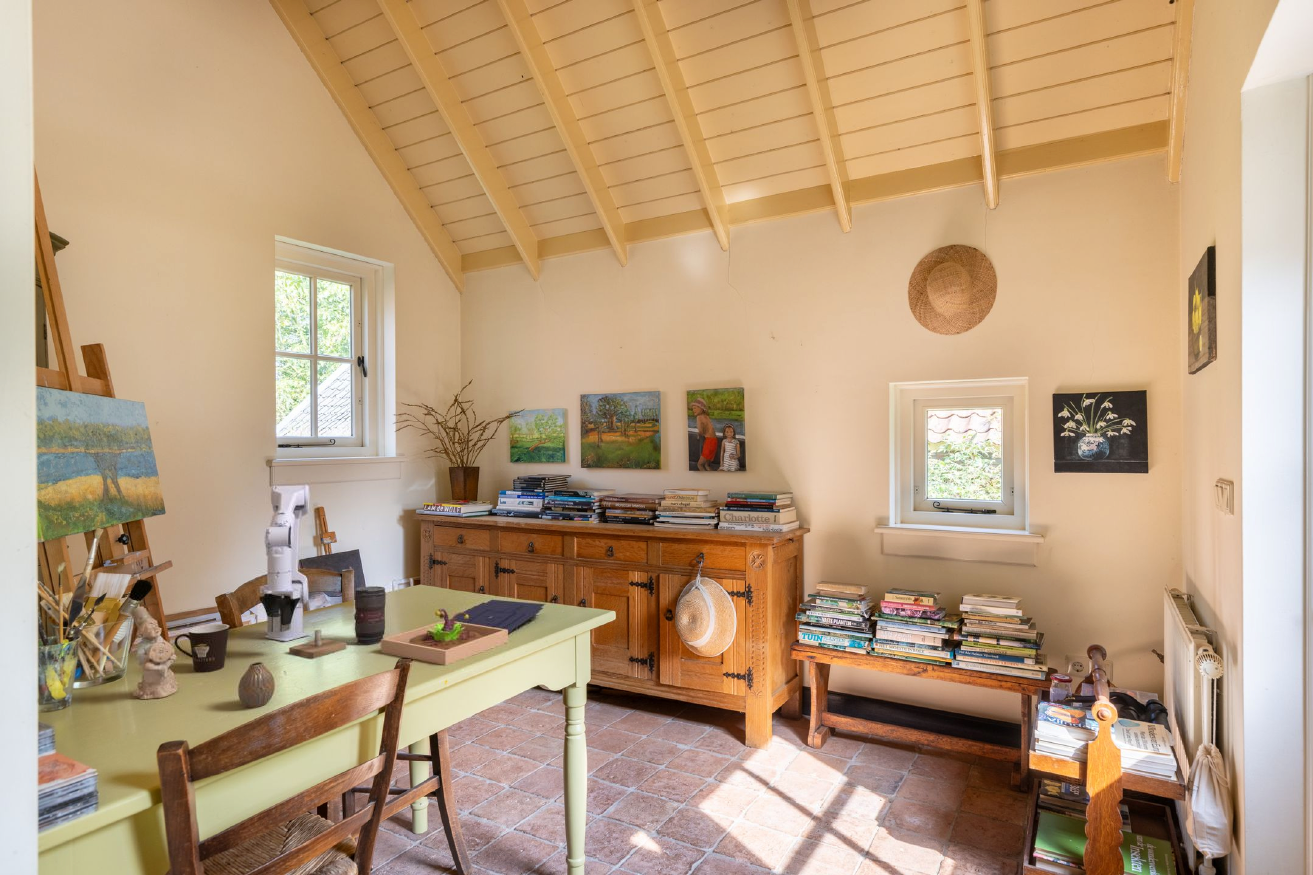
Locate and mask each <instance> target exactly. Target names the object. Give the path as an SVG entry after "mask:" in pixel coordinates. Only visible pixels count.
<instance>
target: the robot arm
mask: <svg viewBox="0 0 1313 875" xmlns="http://www.w3.org/2000/svg"><path fill="white" fill-rule="evenodd" d="M310 494H311V493H310V486H309V485H308V484H301V485H296V484H295V485H273V486H272V487H271V491H270V502H271V503H270V504H271V506H272V512H273V515H272V517H271V522H270V526H269V528H268V529H267V528H266V529H265V532H264V545H265V554H266V557H267V558H266V559H267V561H266V564H267V566H266V567H267V570H266V571H267V574H266V575H267V576H266V577H267V580H266V581H267V584H265V585H261V586H259V594H262V595H261V596H259V597H258V598H259V601H260V603H261V605H262V606H263V608H264V610H265V614H266V617H267V616H268V615H270V614H274V613H280V615H281V623H282V625H287V624H291V629H290V630H288V631H284V632H274V633H273V632H272V633H271V632H268V631H267V635H264V638H265V639H270V640H275V641H279V642H289V641H292V640H296V639H300V638H304V637H308V636H310V633H309V632H303V631H304V627H303V625H304V610H303V608H304V606H303V605H305V604H306V603H308V601H309V582H308V578H307V576H306V575H305V574H303V573H301V572H300V571H299V550H300V525H301V521H302V517H304V516H306V515H308V514H309V510H310V496H311V495H310ZM263 594H264V595H263Z"/></svg>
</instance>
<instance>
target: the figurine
mask: <svg viewBox="0 0 1313 875" xmlns="http://www.w3.org/2000/svg"><path fill="white" fill-rule="evenodd" d="M130 615H131V617H132V619H133V621H134V622H135V625H136V626H137V631H136V636H137V637H139V638H141V641H140V642H137V650H136V655H135V656H136V657H135V658H136V660H137V661H138V666H140V667H141V669H142V670H143V672H144V673H143V674H142V675H141V682H137V685H136V687H137V688H136V689H135V690H134V691H133V693H132V696H133V697H137V698H139V699H142V700H149V699H150V700H151V699H159V698H160V699H161V698H164V697H168V696H170V695H172V694H173V693H175V692H177V690H178V685H179V683H178V682H177V681H176V680H175V676H176V675H175V673H174V672H173V671H172V670H171V668H169V667H170V666H171V665H172V664H173V663H174V662H175V661H177V659H178V657H177V655H176V653H175V651H176V650H175V648H174V646H172V645H171V644H170V643H169V642H168V641H167V640H165V639H164V638H163V636H162V635H161V634H162V628H161V627H159V624H158V620H156V619H155V618H153V616H151V615H150V613H149V612H148V611H147V609H146V608H145V607H144V606H139V607H137V608H136V609H134V610H132V611H131V612H130Z"/></svg>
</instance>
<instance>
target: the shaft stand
mask: <svg viewBox="0 0 1313 875" xmlns="http://www.w3.org/2000/svg"><path fill="white" fill-rule="evenodd" d="M346 649H347V643H346V642H342V641H336V640H331V639H325V638H322V629H317V630H314V640H312V641H309V642H305V643H302V644H297V645H294V646H290V647H289V648H288V652H289V654H292V655H295V656H300V657H304V658H309V659H317V658H321V657H322V656H326V655H330V654H333V653H337V652H340V651H344V650H346Z"/></svg>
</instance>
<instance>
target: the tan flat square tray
mask: <svg viewBox="0 0 1313 875" xmlns="http://www.w3.org/2000/svg"><path fill="white" fill-rule="evenodd" d="M438 623H439V624H442V625H444V623H445V620H443V621H439V622H434V623H431V624H428V625H425V626H421V627H418V628H415V629H412V630H411V629H410V630H409V631H405V632H401V633H397V634H395V635H394V634H393V635H391V636H388V637H383V639H381V642H380V653H383V654H388V655H393V656H398V657H403V658H408V659H411V660H412V659H413V660H417V661H423V662H427V663H428V662H429V663H433V664H438V665H442V666H447V665H450V664H452V663H453V664H454V663H455V662H458V661H461V660H464V659H466V658H469V657H472V656H475V655H477V654H480V653H482V652H485V651H488V650H491V649H494V648H496V647H499V646H502V645H505V644H508V643H509V633H508V630H506V629H500V628H493V627H487V626H481V625H474V624H468V623H461V622H454V625H455V624H457V623H461V626H460V629H462V628H464V629H463V631H469V630H470V632H476V633H478V634H480V635H482V636H484V637H482V638H479V639H476V640H474V641H471V642H468V643H465V644H462V645H459V646H456V647H453V648H450V649H447V650H442V649H437V648H432V647H426V646H421V645H415V644H410V643H409V642H410V639H412V638H414V637H416V636H419V635H422V634H425V633H426V634H427V631H428V629H431V630H433V631H434V632H436V630H435V629H434V628H433V626H435V627H437V624H438ZM460 629H459V630H460ZM428 633H429V632H428Z"/></svg>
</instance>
